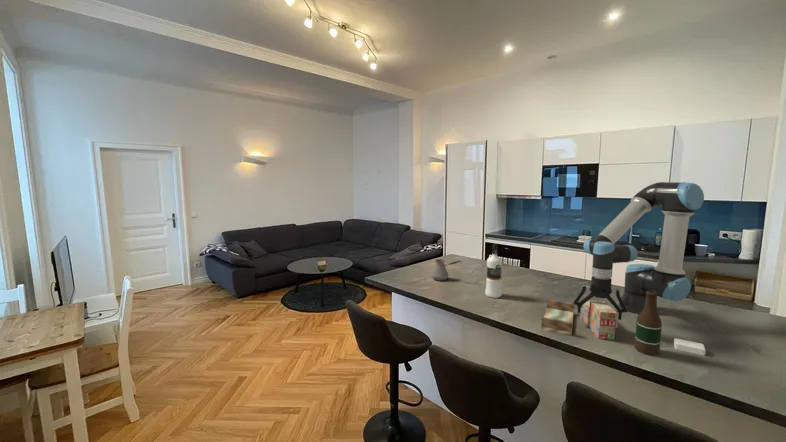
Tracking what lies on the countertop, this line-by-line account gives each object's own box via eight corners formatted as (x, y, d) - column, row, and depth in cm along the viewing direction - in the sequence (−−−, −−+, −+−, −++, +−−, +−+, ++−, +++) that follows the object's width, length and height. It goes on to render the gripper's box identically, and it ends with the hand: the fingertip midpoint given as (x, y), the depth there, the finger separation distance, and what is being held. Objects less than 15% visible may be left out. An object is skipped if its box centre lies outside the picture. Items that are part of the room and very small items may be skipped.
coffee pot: (428, 279, 225) (428, 257, 223) (436, 275, 234) (436, 254, 232) (456, 285, 212) (457, 262, 210) (465, 281, 221) (465, 258, 219)
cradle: (573, 314, 167) (574, 303, 166) (571, 335, 145) (572, 323, 144) (546, 309, 173) (547, 299, 172) (541, 329, 150) (541, 318, 150)
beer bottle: (648, 345, 136) (653, 288, 133) (664, 355, 128) (670, 295, 125) (629, 346, 135) (634, 288, 132) (644, 356, 128) (650, 295, 125)
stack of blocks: (580, 318, 162) (582, 293, 161) (595, 319, 161) (596, 294, 159) (598, 339, 142) (600, 311, 140) (615, 340, 140) (617, 312, 139)
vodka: (497, 292, 199) (499, 242, 195) (504, 297, 190) (506, 245, 186) (482, 293, 198) (483, 243, 194) (489, 298, 189) (490, 246, 185)
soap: (674, 349, 133) (675, 342, 132) (673, 344, 137) (674, 337, 137) (705, 356, 127) (706, 349, 127) (703, 350, 132) (704, 343, 131)
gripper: (569, 275, 151) (566, 320, 153) (637, 283, 138) (633, 332, 141) (569, 271, 157) (567, 314, 160) (635, 278, 145) (631, 325, 148)
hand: (598, 323), depth 150 cm, fingers open, 13 cm apart
